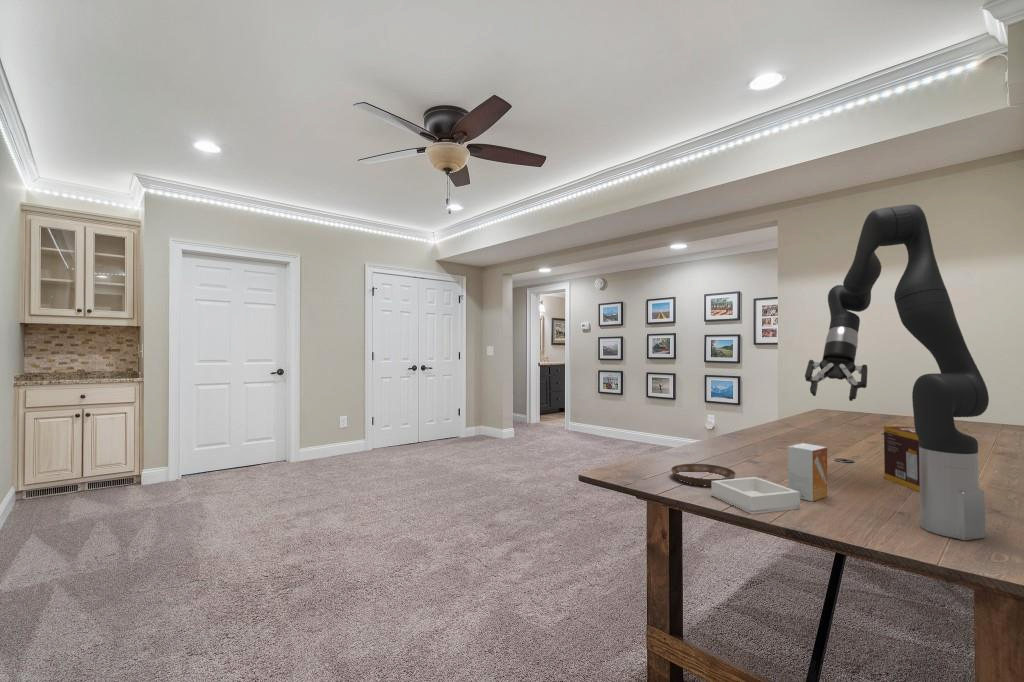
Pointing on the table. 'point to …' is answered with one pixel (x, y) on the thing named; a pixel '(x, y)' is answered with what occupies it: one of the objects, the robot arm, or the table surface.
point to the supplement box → (902, 456)
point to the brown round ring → (701, 468)
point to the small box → (808, 471)
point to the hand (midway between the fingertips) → (832, 397)
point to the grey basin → (755, 495)
